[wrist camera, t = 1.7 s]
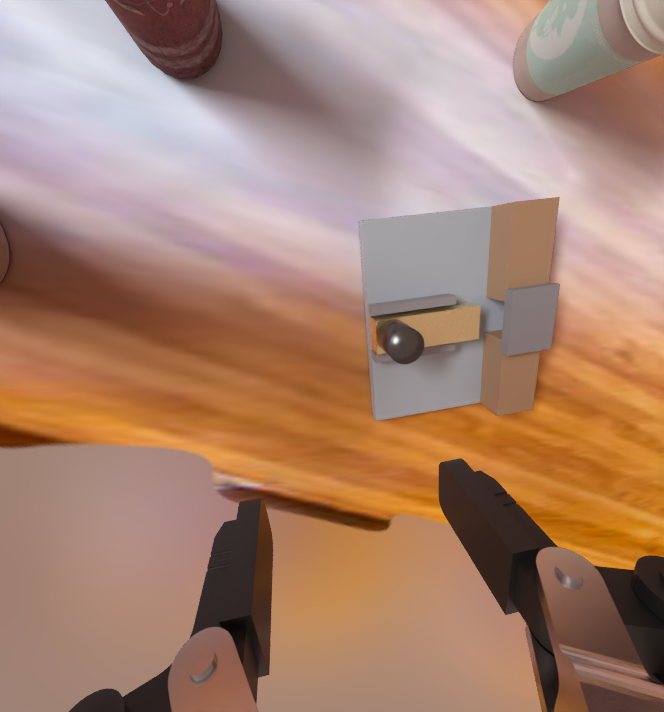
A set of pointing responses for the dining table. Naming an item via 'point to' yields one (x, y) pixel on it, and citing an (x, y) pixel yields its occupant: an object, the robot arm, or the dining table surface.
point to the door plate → (461, 285)
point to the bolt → (423, 330)
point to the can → (173, 33)
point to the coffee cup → (585, 43)
